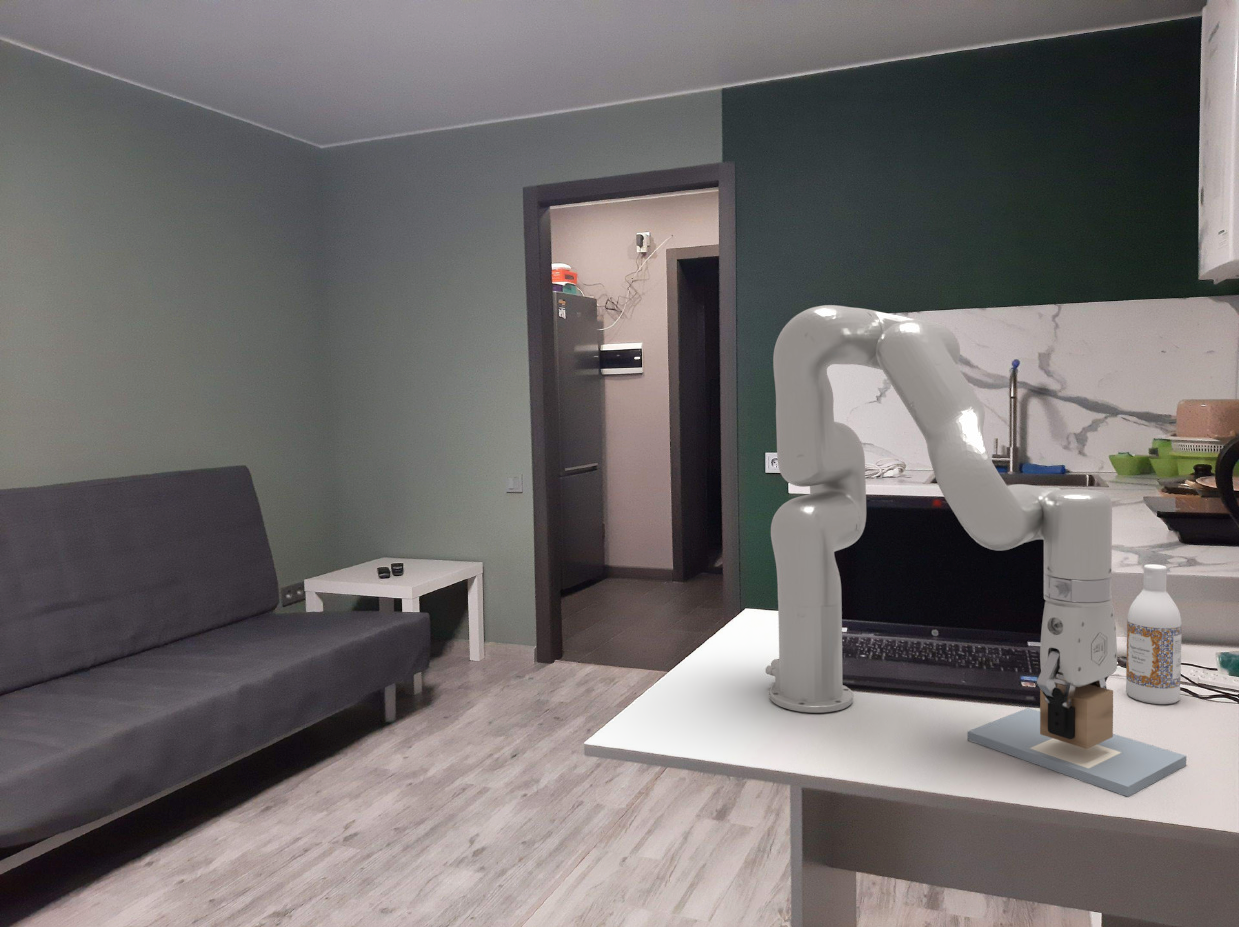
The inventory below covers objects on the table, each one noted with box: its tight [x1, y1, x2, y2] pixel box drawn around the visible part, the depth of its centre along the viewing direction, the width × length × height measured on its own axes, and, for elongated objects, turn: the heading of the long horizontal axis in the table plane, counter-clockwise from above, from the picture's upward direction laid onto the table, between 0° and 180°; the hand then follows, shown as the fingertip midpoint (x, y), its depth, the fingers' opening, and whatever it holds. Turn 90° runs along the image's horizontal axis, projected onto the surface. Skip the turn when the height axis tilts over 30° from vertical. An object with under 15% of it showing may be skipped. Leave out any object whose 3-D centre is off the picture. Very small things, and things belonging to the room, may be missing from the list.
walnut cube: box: [1039, 679, 1114, 749], centre depth 112 cm, size 6×6×6 cm
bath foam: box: [1125, 563, 1183, 705], centre depth 132 cm, size 7×7×20 cm
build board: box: [967, 707, 1187, 798], centre depth 115 cm, size 21×14×1 cm, turn 34°
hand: (1076, 727), depth 112 cm, fingers closed on walnut cube, 6 cm apart
